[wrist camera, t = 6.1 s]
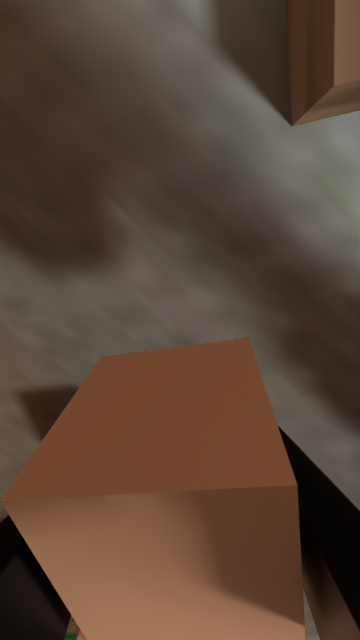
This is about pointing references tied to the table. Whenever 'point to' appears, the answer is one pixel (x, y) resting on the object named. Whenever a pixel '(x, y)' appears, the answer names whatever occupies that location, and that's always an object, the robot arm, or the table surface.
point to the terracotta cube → (168, 501)
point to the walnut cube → (323, 58)
